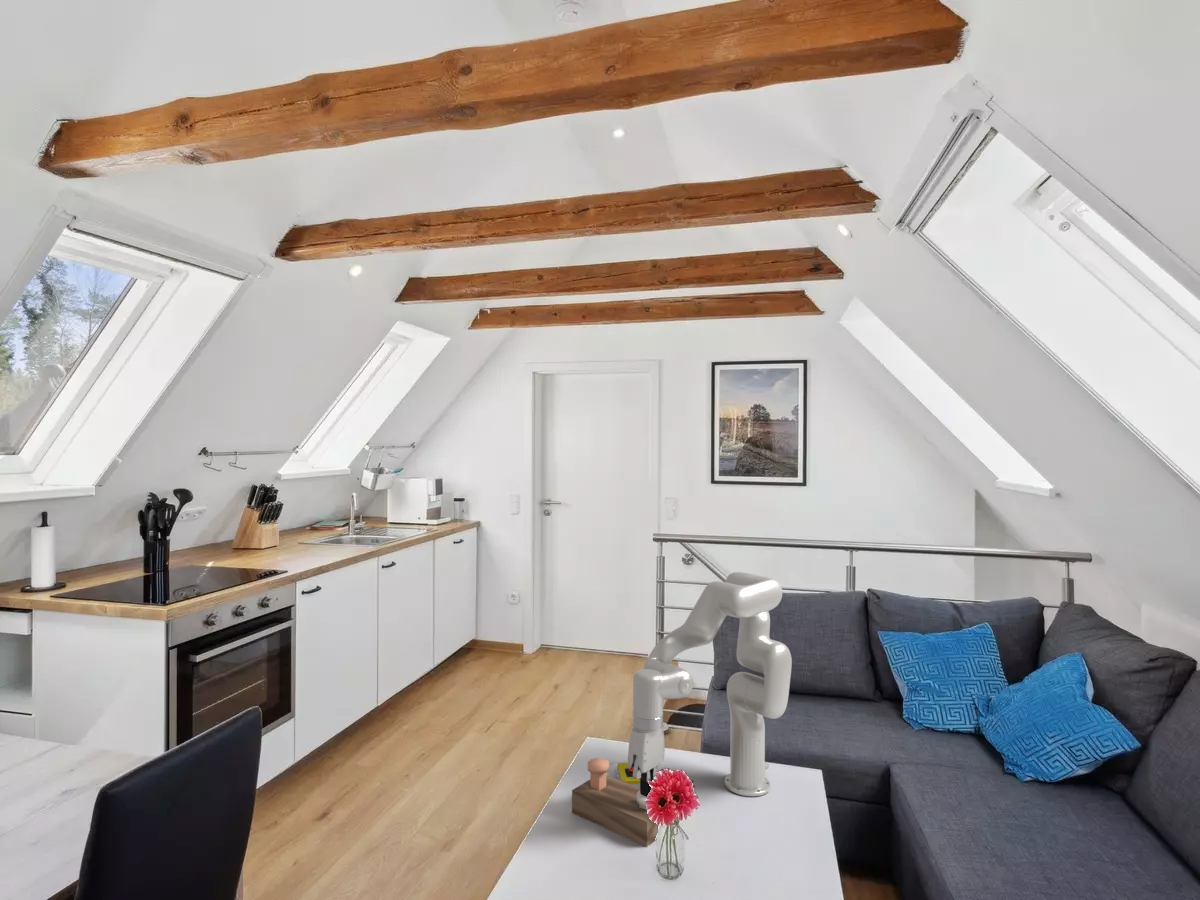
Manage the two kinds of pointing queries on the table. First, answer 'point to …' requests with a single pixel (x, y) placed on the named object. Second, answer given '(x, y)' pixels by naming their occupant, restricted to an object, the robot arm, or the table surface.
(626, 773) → the emergency button
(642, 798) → the white glossy ovoid
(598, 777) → the peach round knob
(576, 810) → the press console
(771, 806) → the table surface
